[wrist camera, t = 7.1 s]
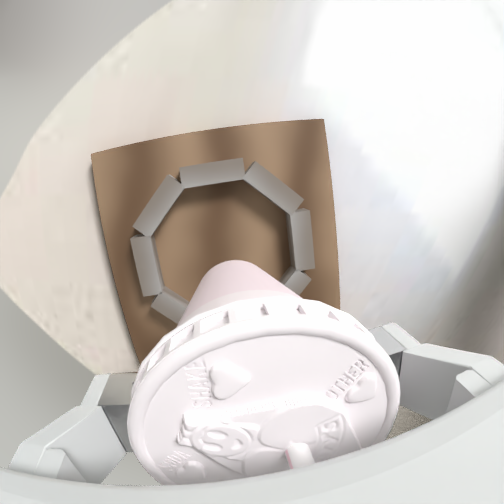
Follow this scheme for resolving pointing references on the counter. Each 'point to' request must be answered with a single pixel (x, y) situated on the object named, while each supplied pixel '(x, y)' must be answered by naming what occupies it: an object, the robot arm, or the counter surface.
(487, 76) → the counter surface
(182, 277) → the socket
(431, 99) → the counter surface
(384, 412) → the smoothie
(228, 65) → the counter surface
